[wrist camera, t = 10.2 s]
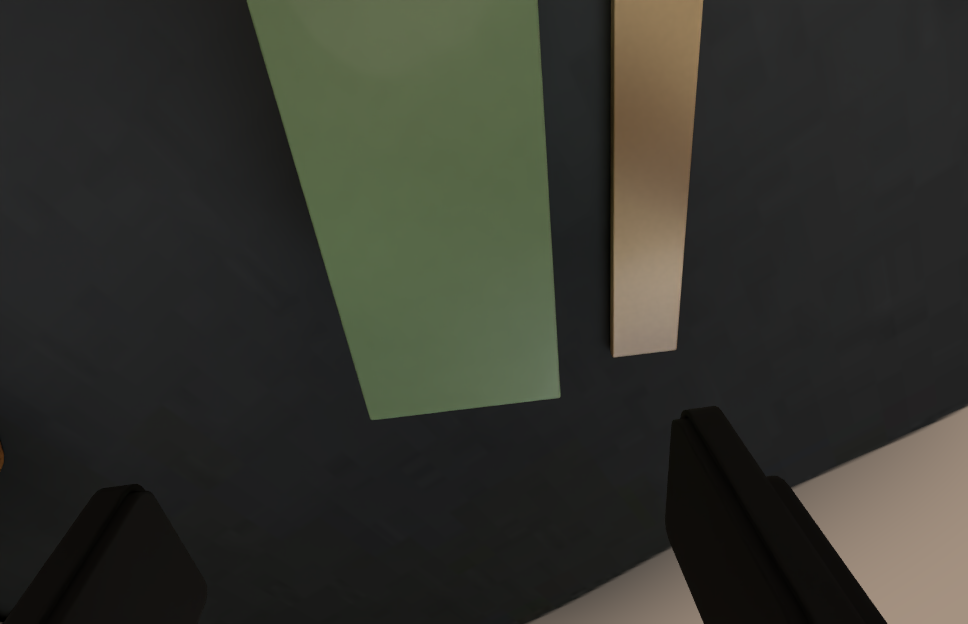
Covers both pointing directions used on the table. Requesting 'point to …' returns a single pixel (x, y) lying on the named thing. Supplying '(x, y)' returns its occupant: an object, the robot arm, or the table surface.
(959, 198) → the table surface
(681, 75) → the strip
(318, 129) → the green box
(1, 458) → the disposable coffee cup
